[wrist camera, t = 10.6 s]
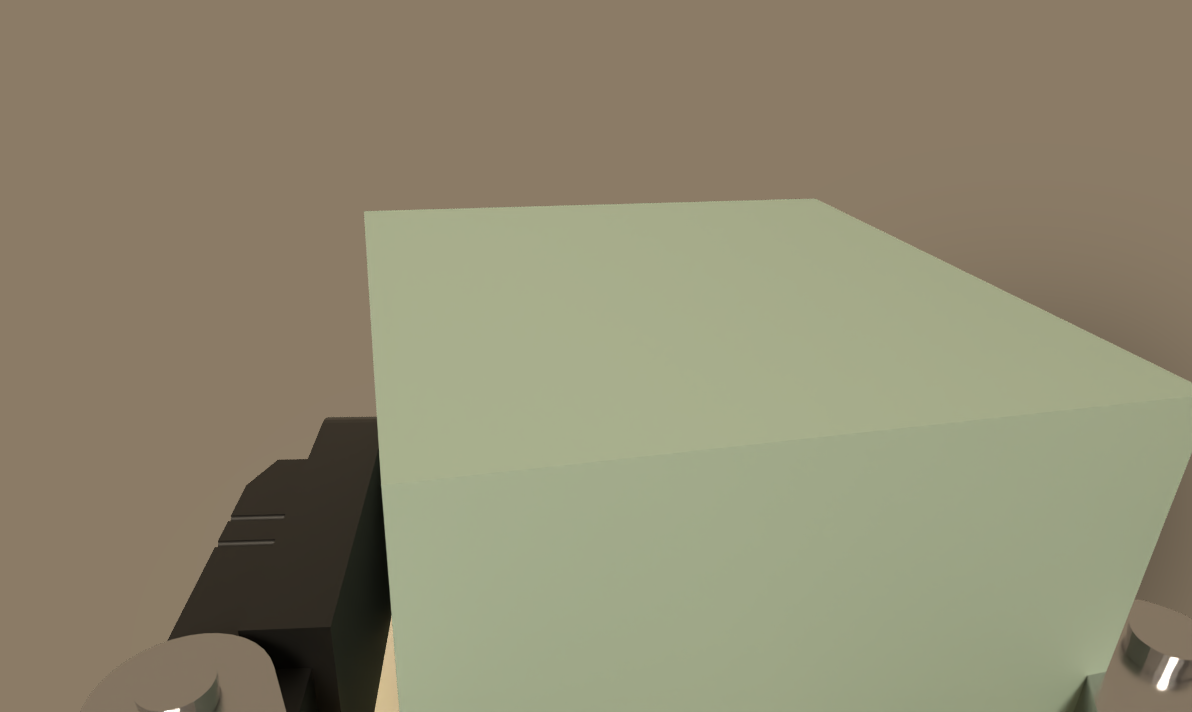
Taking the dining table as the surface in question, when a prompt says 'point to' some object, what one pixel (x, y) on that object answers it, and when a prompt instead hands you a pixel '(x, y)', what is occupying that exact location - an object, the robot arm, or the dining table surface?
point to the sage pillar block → (747, 467)
